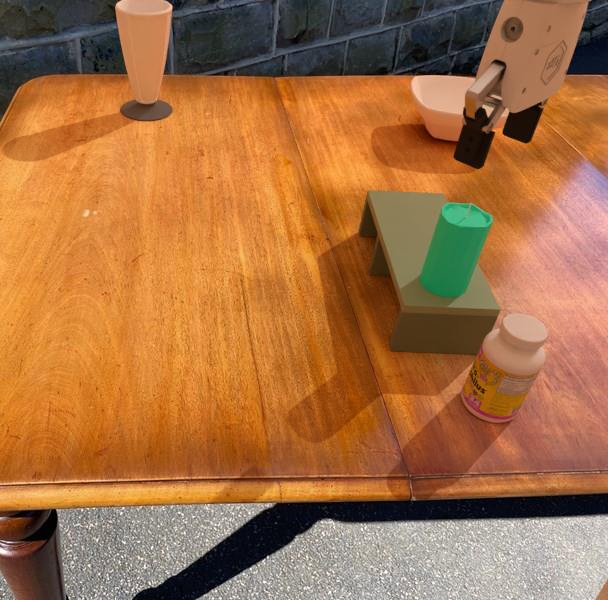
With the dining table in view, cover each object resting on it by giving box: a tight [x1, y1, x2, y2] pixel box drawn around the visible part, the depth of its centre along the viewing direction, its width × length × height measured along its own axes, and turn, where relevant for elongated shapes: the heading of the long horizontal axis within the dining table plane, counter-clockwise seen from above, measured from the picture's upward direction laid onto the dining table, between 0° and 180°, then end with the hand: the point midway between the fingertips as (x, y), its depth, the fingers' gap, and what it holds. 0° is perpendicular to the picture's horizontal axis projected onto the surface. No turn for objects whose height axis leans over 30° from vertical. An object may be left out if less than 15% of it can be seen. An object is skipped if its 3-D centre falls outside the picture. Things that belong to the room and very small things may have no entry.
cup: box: [114, 0, 173, 122], centre depth 132 cm, size 12×12×22 cm
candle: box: [420, 201, 494, 298], centre depth 78 cm, size 6×6×12 cm
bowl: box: [409, 74, 509, 142], centre depth 133 cm, size 21×21×9 cm
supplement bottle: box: [460, 312, 549, 424], centre depth 73 cm, size 7×7×13 cm
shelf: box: [357, 189, 502, 356], centre depth 92 cm, size 28×12×8 cm, turn 178°
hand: (492, 150), depth 68 cm, fingers open, 9 cm apart
